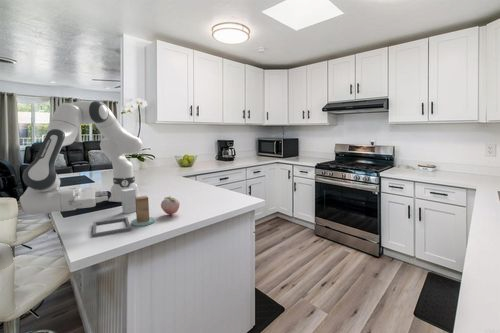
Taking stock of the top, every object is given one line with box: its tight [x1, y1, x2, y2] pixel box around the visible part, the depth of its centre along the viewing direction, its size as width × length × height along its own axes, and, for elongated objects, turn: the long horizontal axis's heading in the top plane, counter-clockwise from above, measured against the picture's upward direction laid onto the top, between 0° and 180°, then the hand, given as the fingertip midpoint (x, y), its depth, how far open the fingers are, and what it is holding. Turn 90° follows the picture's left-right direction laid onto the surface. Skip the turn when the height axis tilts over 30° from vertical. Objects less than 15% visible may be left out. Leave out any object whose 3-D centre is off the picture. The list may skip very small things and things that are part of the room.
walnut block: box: [135, 195, 150, 223], centre depth 122 cm, size 5×5×11 cm
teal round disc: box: [130, 216, 156, 227], centre depth 123 cm, size 10×10×1 cm
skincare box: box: [121, 188, 136, 214], centre depth 138 cm, size 6×4×12 cm
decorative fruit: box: [160, 196, 181, 216], centre depth 133 cm, size 9×8×10 cm
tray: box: [92, 216, 132, 238], centre depth 116 cm, size 16×14×1 cm
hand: (107, 195), depth 117 cm, fingers open, 8 cm apart
